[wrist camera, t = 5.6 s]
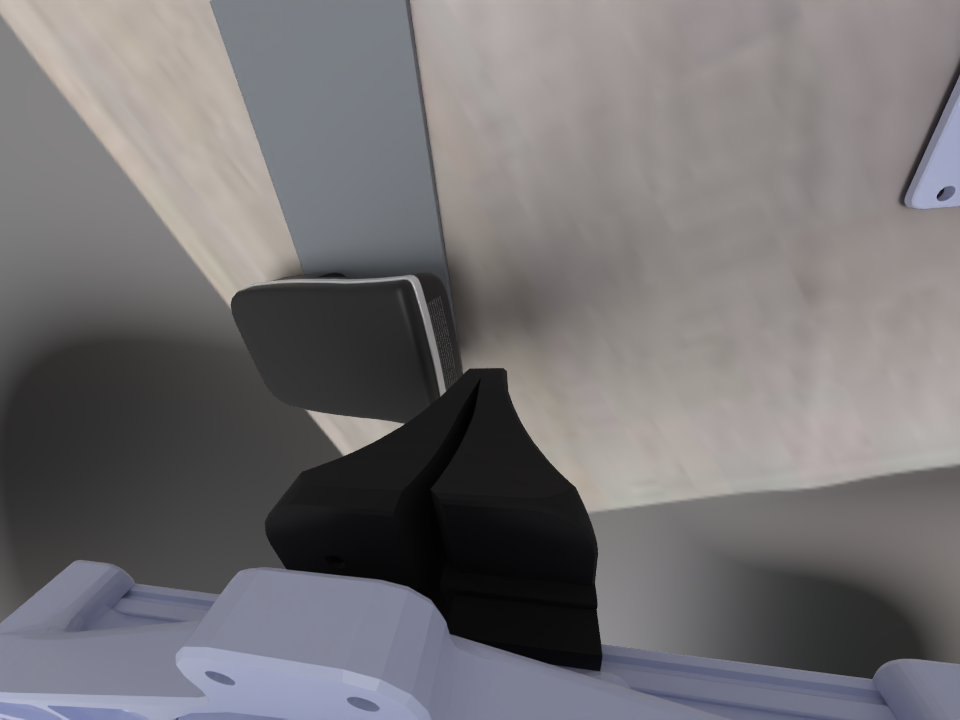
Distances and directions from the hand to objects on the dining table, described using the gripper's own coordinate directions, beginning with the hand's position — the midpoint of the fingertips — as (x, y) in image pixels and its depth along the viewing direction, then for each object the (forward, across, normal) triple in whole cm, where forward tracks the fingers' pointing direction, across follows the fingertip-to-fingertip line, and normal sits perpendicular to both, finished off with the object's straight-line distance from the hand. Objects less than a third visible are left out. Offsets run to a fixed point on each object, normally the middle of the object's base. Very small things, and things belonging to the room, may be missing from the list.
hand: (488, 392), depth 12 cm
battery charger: (+3, +2, 0) cm, 3 cm away
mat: (+7, +7, -4) cm, 11 cm away
